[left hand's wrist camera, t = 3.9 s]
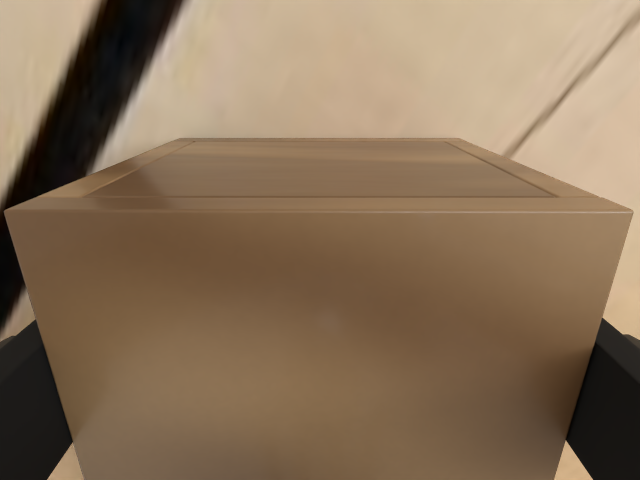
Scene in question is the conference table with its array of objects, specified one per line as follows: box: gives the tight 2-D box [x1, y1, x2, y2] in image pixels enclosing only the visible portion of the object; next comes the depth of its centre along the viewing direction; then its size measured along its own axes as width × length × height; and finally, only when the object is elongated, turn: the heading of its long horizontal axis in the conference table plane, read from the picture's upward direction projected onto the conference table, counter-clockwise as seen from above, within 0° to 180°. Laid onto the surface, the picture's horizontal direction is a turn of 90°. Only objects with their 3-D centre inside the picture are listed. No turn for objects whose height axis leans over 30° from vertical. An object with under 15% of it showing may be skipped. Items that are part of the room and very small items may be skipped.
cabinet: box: [4, 138, 633, 480], centre depth 15 cm, size 21×11×10 cm, turn 0°
